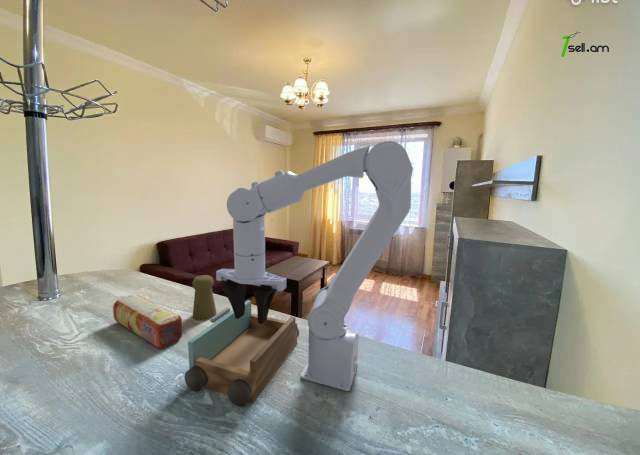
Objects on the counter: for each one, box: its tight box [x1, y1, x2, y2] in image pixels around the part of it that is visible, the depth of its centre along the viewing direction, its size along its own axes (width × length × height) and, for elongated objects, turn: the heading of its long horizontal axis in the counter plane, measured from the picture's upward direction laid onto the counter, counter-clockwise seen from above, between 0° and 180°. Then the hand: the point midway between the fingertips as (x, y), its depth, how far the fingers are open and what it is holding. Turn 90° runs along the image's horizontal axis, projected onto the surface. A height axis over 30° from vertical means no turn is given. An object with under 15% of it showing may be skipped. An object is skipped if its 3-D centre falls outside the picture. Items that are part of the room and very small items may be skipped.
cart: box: [183, 313, 300, 408], centre depth 54 cm, size 13×20×7 cm, turn 161°
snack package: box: [112, 294, 184, 349], centre depth 64 cm, size 21×7×7 cm, turn 58°
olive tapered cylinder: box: [191, 274, 217, 321], centre depth 72 cm, size 6×6×11 cm
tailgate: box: [187, 299, 252, 369], centre depth 55 cm, size 2×18×7 cm, turn 161°
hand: (251, 318), depth 52 cm, fingers open, 5 cm apart
